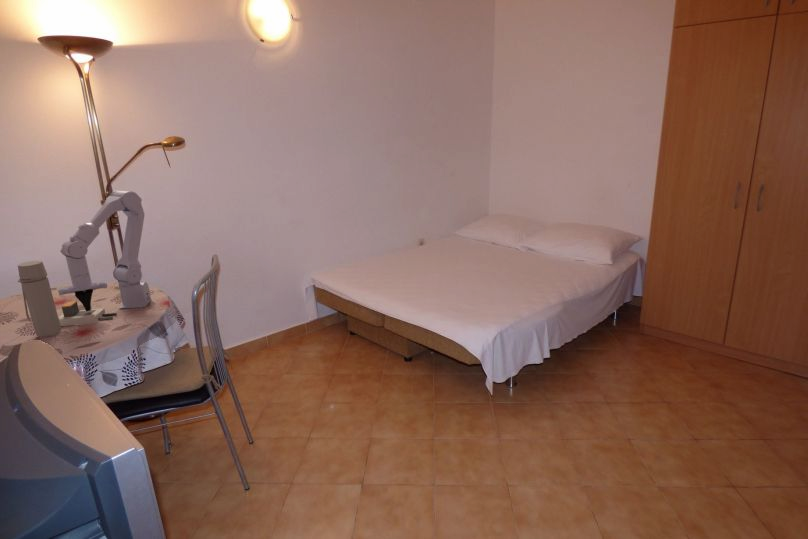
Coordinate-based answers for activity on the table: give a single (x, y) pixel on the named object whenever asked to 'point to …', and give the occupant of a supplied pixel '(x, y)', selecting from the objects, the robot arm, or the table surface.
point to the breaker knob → (70, 308)
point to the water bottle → (39, 298)
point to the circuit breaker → (82, 317)
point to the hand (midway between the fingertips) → (88, 309)
